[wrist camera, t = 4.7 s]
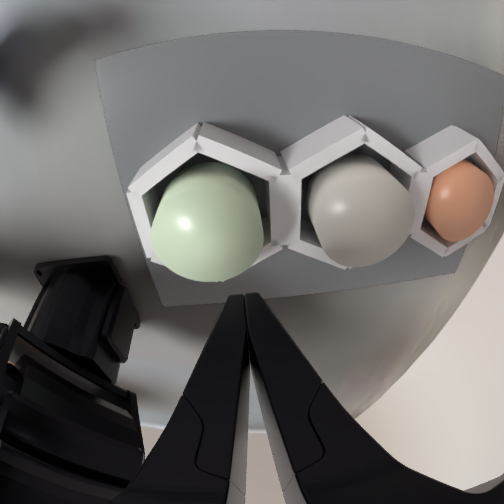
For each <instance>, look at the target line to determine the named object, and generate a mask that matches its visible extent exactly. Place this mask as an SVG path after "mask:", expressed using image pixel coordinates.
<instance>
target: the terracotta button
mask: <svg viewBox="0 0 504 504" xmlns="http://www.w3.org/2000/svg"><path fill="white" fill-rule="evenodd" d="M493 200H494V187H493V183H492V181H491V179H490V177H489V176H488V175H487V174H485V173H484V172H483V171H481V170H480V169H479V168H477V167H476V166H475V165H473V164H472V163H471V162H469V161H468V160H466V159H463V160H461V161H460V162H458V163H456V164H455V165H453V166H451V167H450V168H448V169H446V170H444V171H443V172H441V173H439V174H438V175H436V176H434V177H433V181H432V185H431V190H430V194H429V198H428V202H427V206H426V210H425V214H424V217H425V218H426V219H427V220H428V221H429V222H430V223H431V225H432V226H433V227H434V228H435V229H436V231H437V232H438V233H439V234H440V235H441V237H443V238H444V239H445V240H447V241H451V242H456V241H461V240H464V239H466V238H468V237H469V236H471V235H472V234H474V233H475V232H476V231H477V230H478V229H479V228H480V227H481V226H482V224H483V223H484V222H485V220H486V219H487V217H488V215H489V213H490V211H491V208H492V205H493Z"/></svg>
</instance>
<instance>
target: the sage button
mask: <svg viewBox="0 0 504 504" xmlns="http://www.w3.org/2000/svg"><path fill="white" fill-rule="evenodd" d="M151 241H152V245H153V248H154V251H155V253H156V254H157V256H158V258H159V259H160V260H161V262H162V263H163V264H164V265H165V266H166V267H168V268H169V269H170V270H171V271H173V272H175V273H176V274H178V275H180V276H182V277H185V278H187V279H191V280H195V281H201V282H216V281H223V280H227V279H230V278H233V277H235V276H237V275H240V274H241V273H243V272H244V271H246V270H247V269H248V268H250V267H251V266H252V264H253V263H254V262H255V261H256V260H257V258H258V256H259V255H260V253H261V250H262V247H263V242H264V233H263V227H262V221H261V215H260V210H259V204H258V199H257V194H256V191H255V189H254V187H253V185H252V183H251V182H250V181H249V179H248V178H247V177H246V176H245V175H244V174H243V173H241V172H240V171H238V170H237V169H235V168H233V167H231V166H229V165H226V164H222V163H217V162H202V163H197V164H193V165H190V166H188V167H186V168H184V169H183V170H181V171H179V172H178V173H177V174H176V175H175V176H174V177H173V178H172V179H171V180H170V182H169V183H168V185H167V187H166V189H165V191H164V194H163V197H162V199H161V202H160V204H159V207H158V210H157V212H156V215H155V218H154V220H153V224H152V228H151Z"/></svg>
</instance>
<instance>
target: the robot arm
mask: <svg viewBox="0 0 504 504" xmlns="http://www.w3.org/2000/svg"><path fill="white" fill-rule="evenodd" d="M103 264H105V265H107V266H105V265H103ZM34 274H35V275H36V277H37V279H38V280H39V282H40V284H41V285H42V287H43V288H42V290H41V292H40V293H39V295H38V297H37V299H36V301H35V303H34V305H33V308H32V310H31V312H30V314H29V316H28V318H27V320H26V322H25V325H24V327H22V326H21V323H20V322H18V321H17V320H16V319H15V318H13V320H12V321H11V322H10V324H9V325H7V324H6V323H5V324H4V323H0V504H245V493H246V466H247V441H248V415H249V388H250V365H251V370H252V375H253V379H254V383H255V387H256V391H257V395H258V399H259V404H260V408H261V412H262V416H263V420H264V423H265V427H266V431H267V435H268V439H269V443H270V447H271V451H272V455H273V458H274V462H275V466H276V470H277V473H278V477H279V481H280V484H281V488H282V491H283V495H284V499H285V503H286V504H504V474H503V475H501V476H500V477H498V478H495V479H493V480H491V481H488V482H486V483H483V484H481V485H478V486H476V487H473V488H470V489H467V490H465V491H462V490H459V489H457V488H455V487H452V486H449V485H447V484H444V483H442V482H440V481H437V480H435V479H432V478H430V477H428V476H426V475H423V474H421V473H419V472H417V471H414V470H412V469H410V468H408V467H406V466H405V465H403V464H402V463H400V462H399V461H397V460H396V459H395V458H393V457H392V456H391V455H390V454H389V453H388V452H387V451H386V450H385V449H384V448H383V447H382V446H381V445H380V444H378V443H377V442H376V441H375V440H374V439H373V438H372V437H371V436H370V435H369V434H368V433H367V432H366V431H365V430H364V429H363V428H362V427H361V426H360V425H359V424H358V423H357V422H356V421H355V420H354V418H353V417H352V416H351V415H350V414H349V413H348V412H347V411H346V410H345V409H344V408H343V406H342V405H341V404H340V403H339V401H338V400H337V399H336V398H335V396H334V395H333V394H332V392H331V391H330V390H329V388H328V387H327V386H326V384H325V383H322V379H321V378H320V376H319V375H318V374H317V372H316V371H315V370H314V368H313V367H312V366H311V364H310V363H309V361H308V360H307V359H306V357H305V356H304V355H303V353H302V352H301V350H300V349H299V348H298V346H297V345H296V344H295V342H294V341H293V339H292V338H291V337H290V335H289V334H288V332H287V331H286V330H285V328H284V327H283V325H282V324H281V323H280V321H279V320H278V319H277V317H276V316H275V314H274V313H273V312H272V310H271V309H270V307H269V306H268V305H267V303H266V302H265V300H264V299H263V298H262V296H261V295H260V294H259V293H258V292H251V293H245V294H244V296H243V294H241V293H240V294H230V295H228V297H227V299H226V301H225V303H224V305H223V307H222V309H221V312H220V314H219V316H218V318H217V320H216V322H215V324H214V327H213V329H212V331H211V333H210V335H209V337H208V339H207V342H206V344H205V346H204V348H203V350H202V352H201V355H200V357H199V359H198V361H197V363H196V365H195V368H194V370H193V372H192V374H191V376H190V378H189V381H188V383H187V385H186V387H185V389H184V391H183V395H184V396H183V395H182V396H181V397H180V400H179V402H178V404H177V406H176V408H175V410H174V412H173V414H172V416H171V418H170V420H169V422H168V424H167V426H166V427H165V429H164V431H163V433H162V434H161V436H160V438H159V439H158V441H157V442H156V444H155V446H154V447H153V449H152V450H151V452H150V453H149V455H148V456H147V458H146V459H145V452H144V445H143V439H142V433H141V427H140V420H139V413H138V405H137V397H136V394H135V393H133V392H131V391H129V390H124V389H122V388H120V387H118V386H116V382H117V377H118V371H119V367H120V363H125V362H126V361H127V359H128V354H129V349H130V344H131V340H132V335H133V331H134V329H138V328H139V327H140V322H141V321H140V319H139V317H138V315H137V310H136V308H135V306H134V304H133V302H132V300H131V298H130V296H129V293H128V291H127V289H126V288H125V286H124V285H123V284H122V282H121V279H120V277H119V275H118V273H117V270H116V268H115V266H114V263H113V262H112V260H111V259H110V258H108V257H94V258H85V259H76V260H66V261H57V262H48V263H39V264H37V265H36V266H35V268H34ZM244 304H245V306H244ZM245 314H246V316H245ZM246 325H247V327H246ZM247 336H248V338H247ZM248 346H249V348H248ZM249 356H250V358H249ZM8 361H10V362H11V363H13V364H14V365H13V364H11V363H8Z"/></svg>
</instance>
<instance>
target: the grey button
mask: <svg viewBox="0 0 504 504" xmlns="http://www.w3.org/2000/svg"><path fill="white" fill-rule="evenodd" d="M305 204H306V209H307V212H308V215H309V217H310V219H311V222H312V224H313V227H314V229H315V231H316V234H317V236H318V239H319V241H320V244H321V246H322V248H323V250H324V252H325V253H326V255H327V256H328V257H329V258H330V259H331V260H333V261H334V262H336V263H338V264H340V265H343V266H348V267H364V266H369V265H373V264H375V263H378V262H380V261H382V260H384V259H386V258H387V257H389V256H390V255H392V254H393V253H394V252H395V251H396V250H398V249H399V248H400V246H401V245H402V244H403V243H404V242H405V240H406V239H407V237H408V235H409V234H410V231H411V229H412V226H413V223H414V218H415V207H414V202H413V199H412V197H411V195H410V193H409V192H408V191H407V190H406V188H405V187H404V186H403V185H402V184H401V183H400V182H399V181H398V180H397V179H396V178H394V177H393V176H392V175H391V174H390V173H389V172H388V171H387V170H386V169H385V168H384V167H383V166H382V165H381V164H380V163H379V162H377V161H376V160H375V159H373V158H371V157H369V156H367V155H363V154H357V153H350V154H345V155H343V156H341V157H340V158H338V159H336V160H334V161H332V162H331V163H329V164H327V165H325V166H324V167H322V168H320V169H318V170H317V171H316V172H315V173H314V175H313V176H312V178H311V180H310V182H309V184H308V186H307V190H306V195H305Z"/></svg>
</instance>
